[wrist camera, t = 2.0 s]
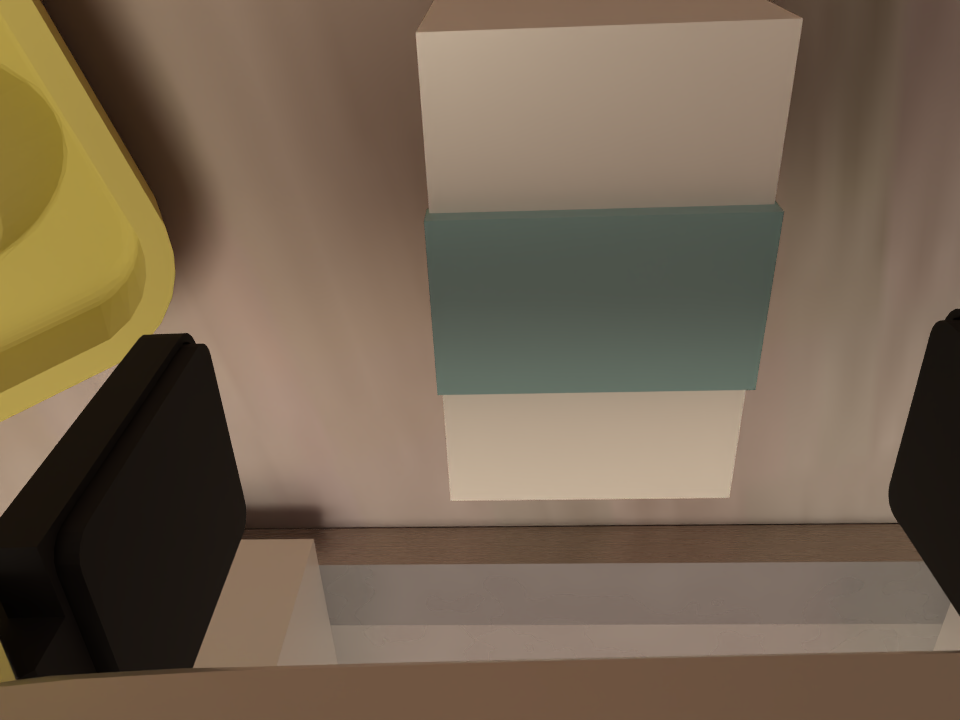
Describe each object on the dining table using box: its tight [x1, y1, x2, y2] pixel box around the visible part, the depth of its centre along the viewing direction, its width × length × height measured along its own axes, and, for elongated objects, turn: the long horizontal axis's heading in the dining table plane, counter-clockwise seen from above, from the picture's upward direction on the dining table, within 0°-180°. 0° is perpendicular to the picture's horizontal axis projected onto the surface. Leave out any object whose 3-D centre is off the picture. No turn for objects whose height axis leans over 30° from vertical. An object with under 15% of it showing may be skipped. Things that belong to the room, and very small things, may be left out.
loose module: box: [416, 0, 803, 501], centre depth 15 cm, size 5×8×7 cm, turn 2°
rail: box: [241, 524, 951, 664], centre depth 27 cm, size 30×12×2 cm, turn 92°
